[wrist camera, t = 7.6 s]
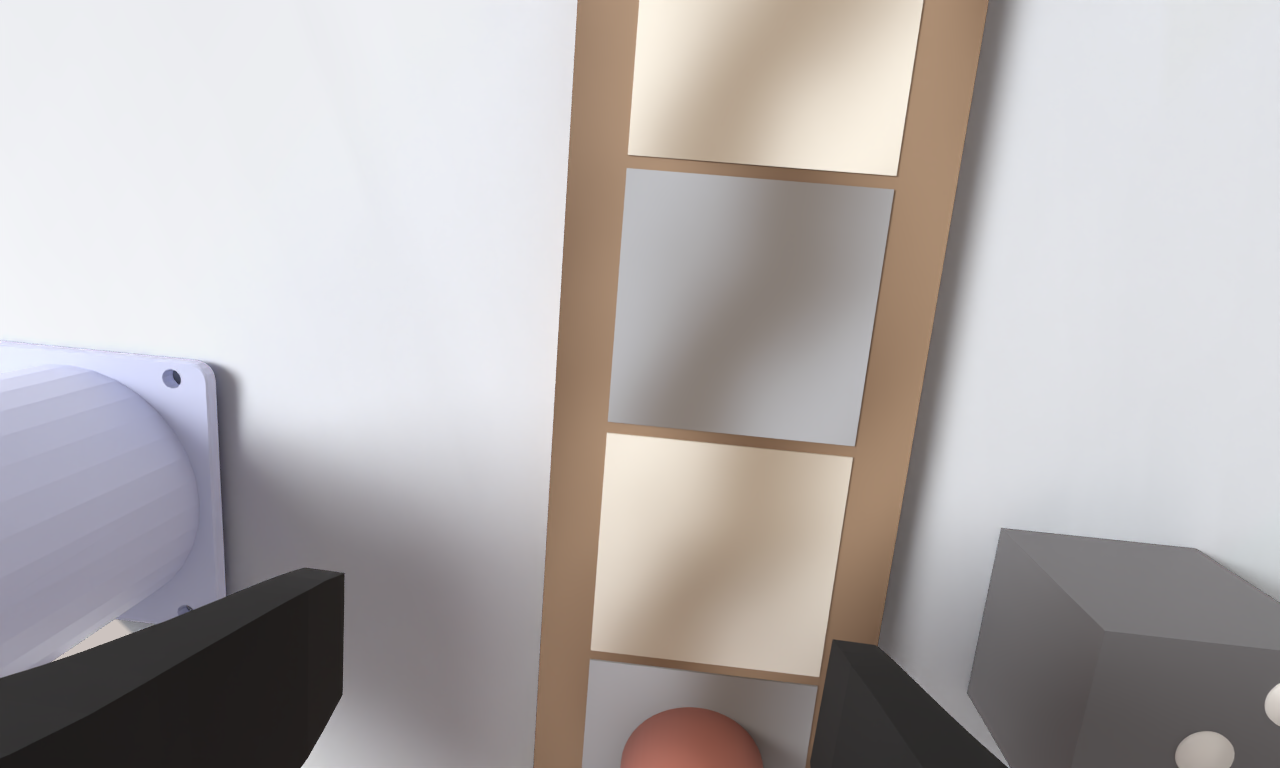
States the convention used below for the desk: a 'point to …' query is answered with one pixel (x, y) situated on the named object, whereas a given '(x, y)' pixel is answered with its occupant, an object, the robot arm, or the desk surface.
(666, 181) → the board
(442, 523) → the desk surface
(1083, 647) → the dark grey block
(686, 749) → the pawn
